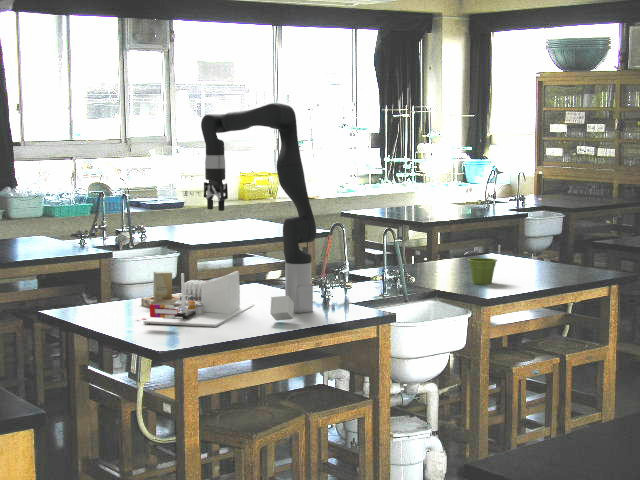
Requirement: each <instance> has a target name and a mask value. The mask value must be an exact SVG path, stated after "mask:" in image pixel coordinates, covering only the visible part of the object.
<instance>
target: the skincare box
mask: <svg viewBox="0 0 640 480" xmlns="http://www.w3.org/2000/svg"><path fill="white" fill-rule="evenodd" d="M172 295H173V272H172V271H170V270H169V271H167V270H166V271H165V270H164V271H163V270H162V271H153V296H152V297H153V299H155V300H161V299H170V298H172Z"/></svg>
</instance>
